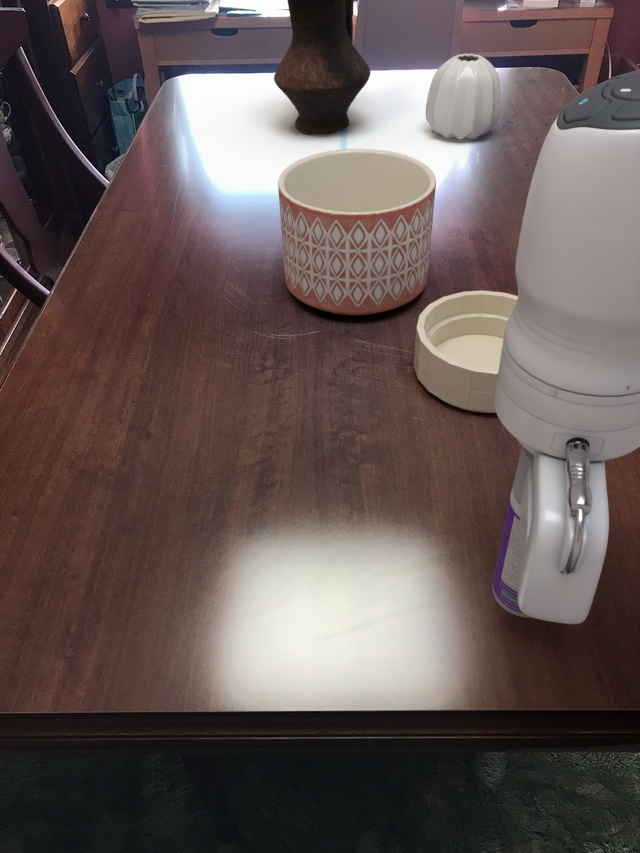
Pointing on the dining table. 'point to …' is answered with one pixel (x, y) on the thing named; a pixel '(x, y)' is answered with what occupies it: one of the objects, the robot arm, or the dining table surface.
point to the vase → (464, 97)
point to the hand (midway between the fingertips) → (536, 540)
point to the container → (511, 543)
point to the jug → (321, 65)
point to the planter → (356, 229)
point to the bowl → (463, 347)
